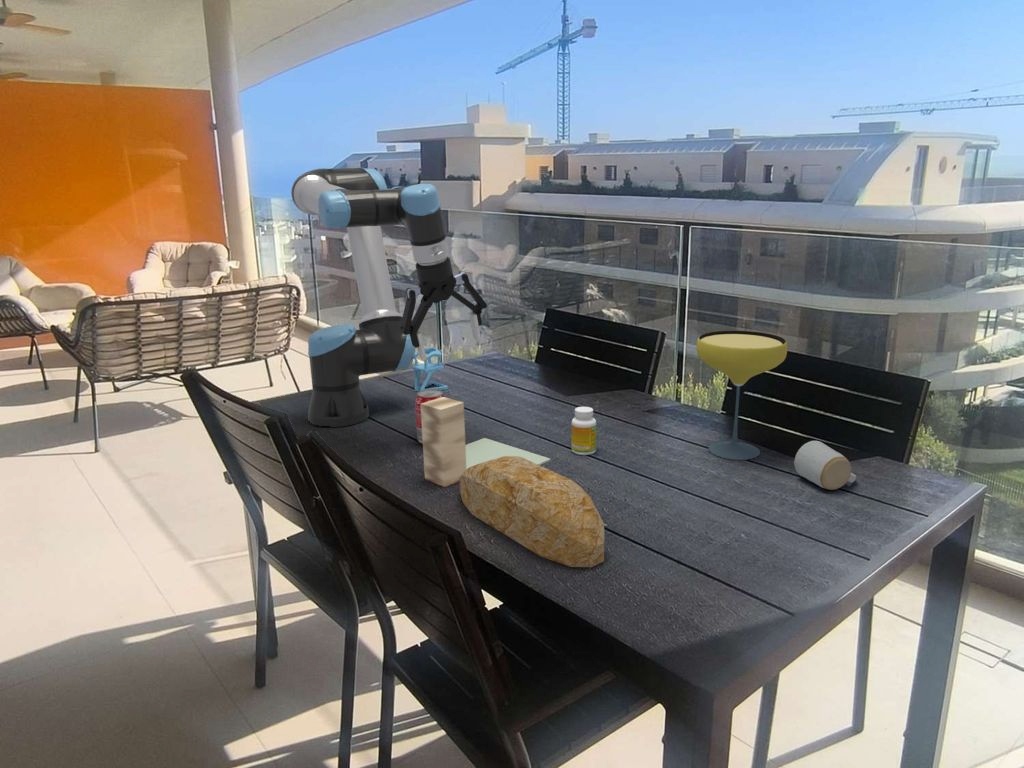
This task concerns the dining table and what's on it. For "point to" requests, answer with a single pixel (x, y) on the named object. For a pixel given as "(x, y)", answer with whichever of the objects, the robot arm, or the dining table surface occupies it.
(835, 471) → the ceramic mug
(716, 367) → the cocktail glass
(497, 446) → the green mat
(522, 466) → the bread
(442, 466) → the beech block
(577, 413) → the supplement bottle
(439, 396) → the soda can
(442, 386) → the chair
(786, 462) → the dining table surface
